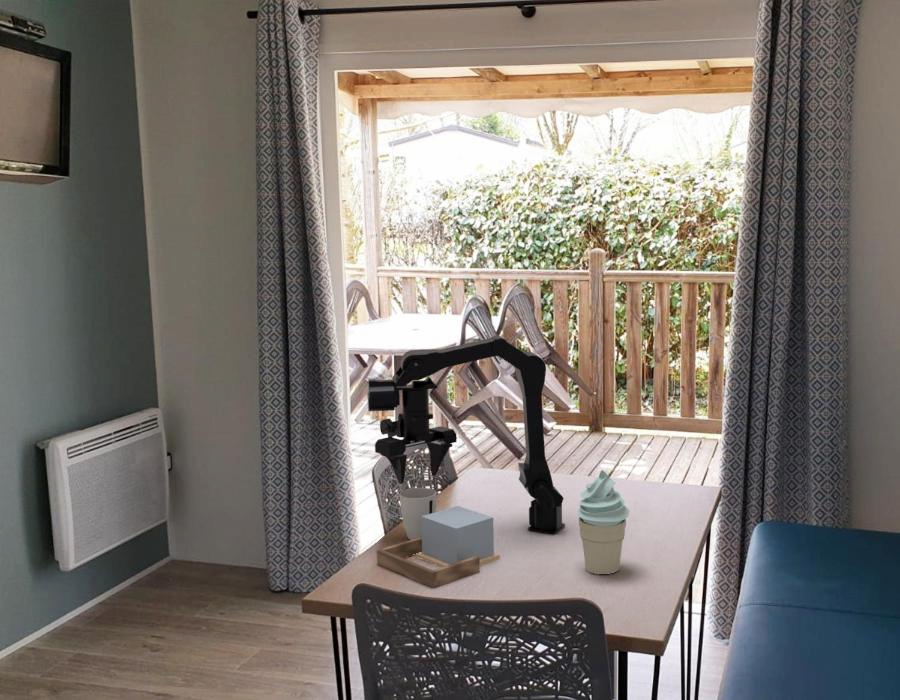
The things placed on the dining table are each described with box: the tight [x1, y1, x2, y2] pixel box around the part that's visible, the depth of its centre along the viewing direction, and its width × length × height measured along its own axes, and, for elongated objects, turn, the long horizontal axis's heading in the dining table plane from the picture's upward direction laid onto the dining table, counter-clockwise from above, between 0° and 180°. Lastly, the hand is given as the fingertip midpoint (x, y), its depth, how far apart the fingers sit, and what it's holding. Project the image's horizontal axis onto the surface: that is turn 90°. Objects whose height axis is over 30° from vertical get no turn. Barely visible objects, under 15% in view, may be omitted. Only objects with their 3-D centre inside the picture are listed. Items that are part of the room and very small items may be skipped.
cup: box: [399, 487, 438, 540], centre depth 219 cm, size 8×8×10 cm
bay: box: [376, 537, 481, 589], centre depth 200 cm, size 12×18×3 cm
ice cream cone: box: [577, 469, 630, 575], centre depth 196 cm, size 10×11×20 cm
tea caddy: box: [415, 505, 501, 568], centre depth 205 cm, size 12×12×9 cm
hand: (417, 479), depth 217 cm, fingers open, 9 cm apart
